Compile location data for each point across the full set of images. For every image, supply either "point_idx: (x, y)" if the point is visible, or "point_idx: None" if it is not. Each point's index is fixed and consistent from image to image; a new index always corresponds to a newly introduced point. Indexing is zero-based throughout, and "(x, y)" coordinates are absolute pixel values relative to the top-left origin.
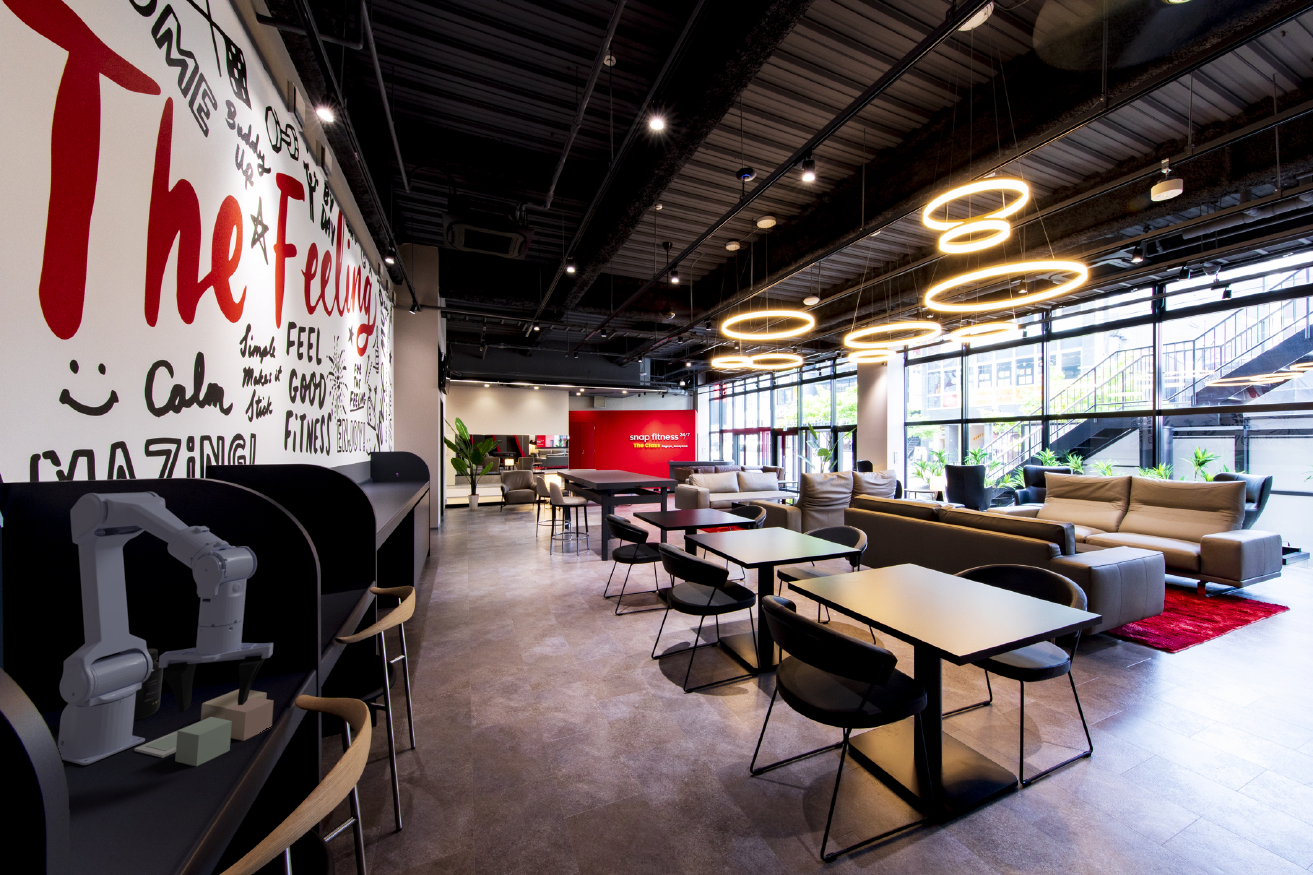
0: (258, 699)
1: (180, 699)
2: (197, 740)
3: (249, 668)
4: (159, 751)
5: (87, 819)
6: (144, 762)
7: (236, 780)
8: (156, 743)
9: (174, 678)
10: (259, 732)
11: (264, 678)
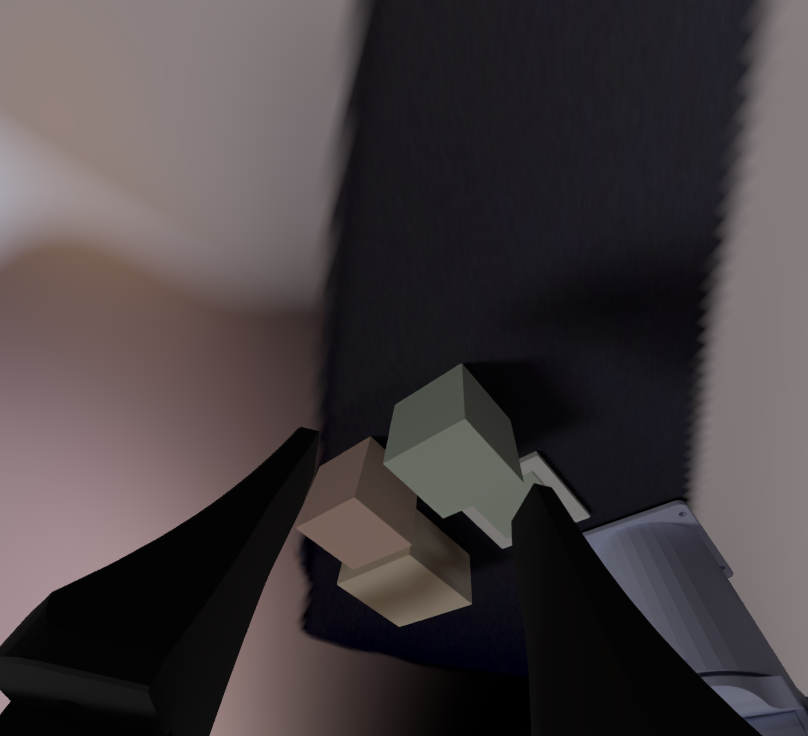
0: (337, 551)
1: (571, 539)
2: (467, 410)
3: (89, 610)
4: (543, 476)
5: (721, 196)
6: (571, 449)
7: (347, 201)
8: None
9: (697, 717)
10: (341, 454)
11: (376, 652)
